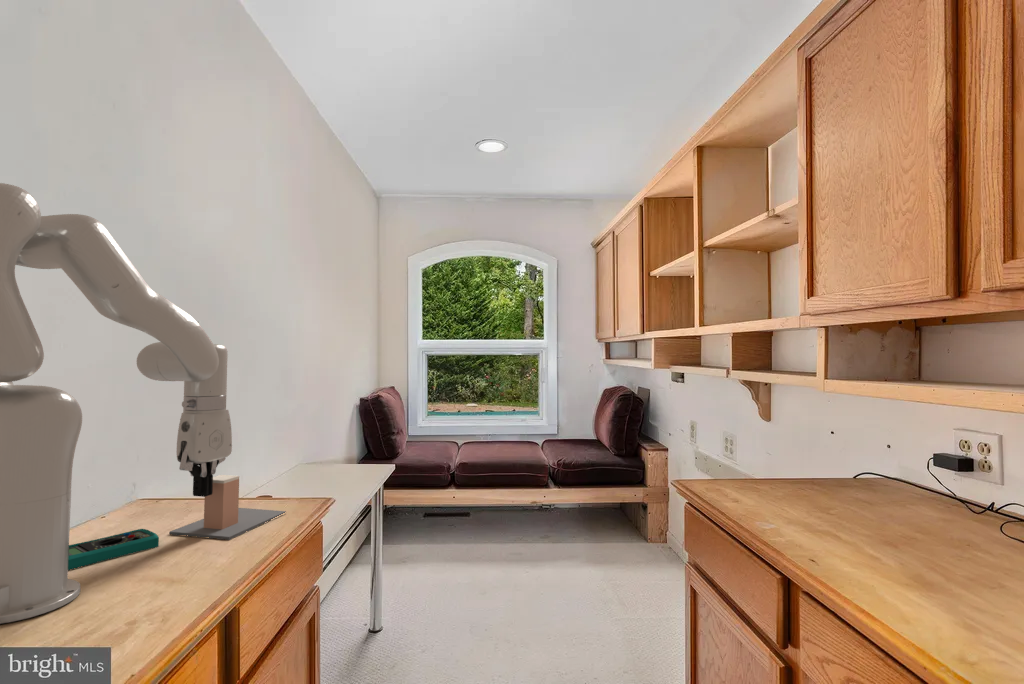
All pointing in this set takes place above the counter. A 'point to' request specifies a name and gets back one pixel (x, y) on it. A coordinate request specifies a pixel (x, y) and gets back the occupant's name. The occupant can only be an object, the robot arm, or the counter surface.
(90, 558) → the digital multimeter
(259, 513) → the mat
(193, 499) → the counter surface
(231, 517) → the block
